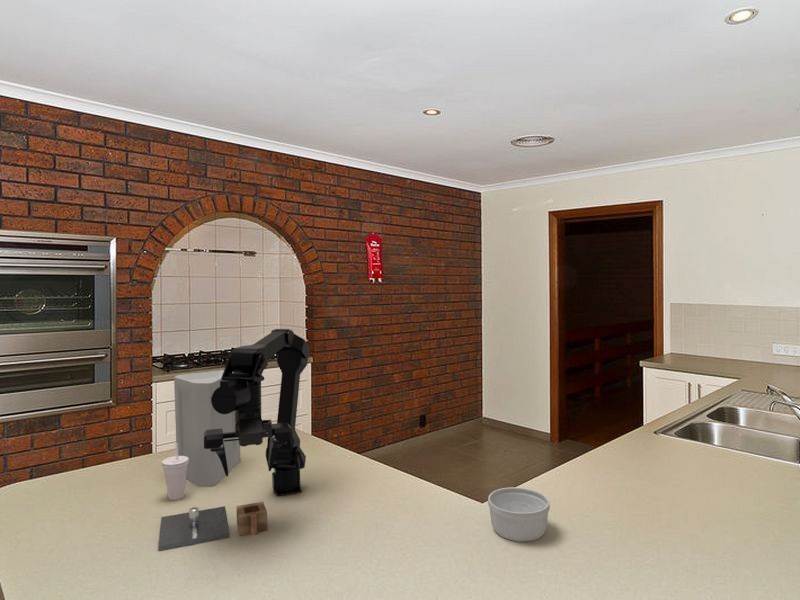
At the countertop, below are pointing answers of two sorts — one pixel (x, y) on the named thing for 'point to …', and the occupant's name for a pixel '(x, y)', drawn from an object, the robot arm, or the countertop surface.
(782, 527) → the countertop surface
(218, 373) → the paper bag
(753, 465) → the countertop surface
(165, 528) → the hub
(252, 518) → the wooden cubby with handle
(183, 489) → the smoothie
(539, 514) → the ramekin
